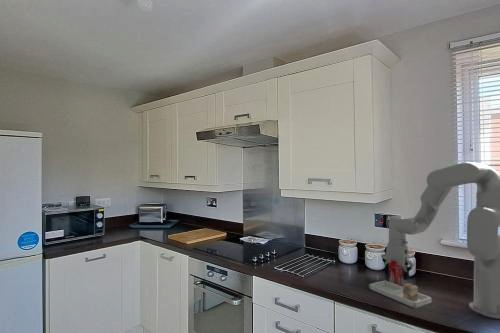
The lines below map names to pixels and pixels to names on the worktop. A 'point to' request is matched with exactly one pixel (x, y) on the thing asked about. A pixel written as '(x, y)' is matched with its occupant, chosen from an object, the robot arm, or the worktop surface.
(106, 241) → the worktop surface
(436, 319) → the worktop surface
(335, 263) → the worktop surface
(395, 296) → the organiser tray
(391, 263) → the soda can
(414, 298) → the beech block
